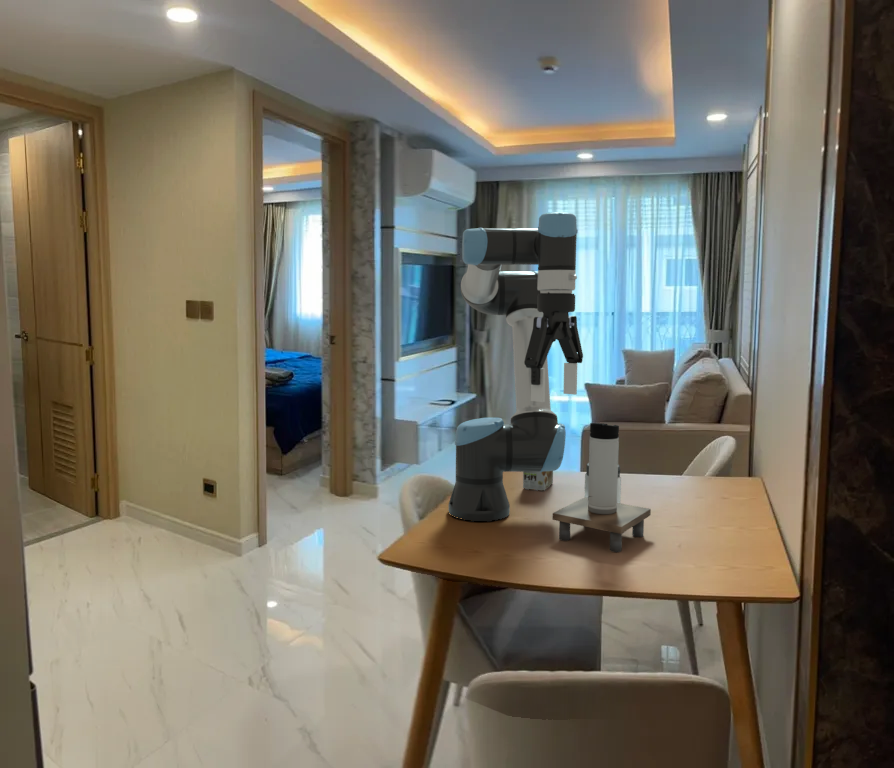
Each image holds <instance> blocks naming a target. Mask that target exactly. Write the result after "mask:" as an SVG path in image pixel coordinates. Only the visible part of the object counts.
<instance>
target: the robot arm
mask: <svg viewBox="0 0 894 768" xmlns="http://www.w3.org/2000/svg"><path fill="white" fill-rule="evenodd" d="M578 233H579V232H578V225H577V216H576V215H575V214H574V213H571V212H548V213H543V214H541V215H540V216H539V218H538V226H537V228H502V227H500V228H495V227H494V228H493V227H492V228H487V227H484V228H483V227H478V228H467V229H465V230H464V231H463V232H462V241H461V243H462V245H461V246H462V248H461V249H462V250H461V251H462V253H461V255H462V257H461V258H462V261H463V263H464V264H465V265H467V270H466V272H464V274H463V276H462V277H461V278H462V279H461V282H460V293H461V296H462V298H463V300H464V301H465V302H466V304H468V305H469V306H470V307H471V308H473V309H474V310H476V311H477V312H479V313H482V314H485V315H491V316H505V321H506V323H507V324H508V325H509V326H510V327H512V330H511V331H512V346H513V349H512V351H513V367H514V368H513V370H514V371H513V372H514V388H515V390H514V392H515V410H516V411H515V412H514V413H513V414H512V415H511V416H510V423H509V424H508V423H505V422H504V419H502V418H501V417H495V416H494V417H481V418H473V419H470V420H466V421H464V422H461V423H460V424H458V426H457V428H456V430H455V440H454V445H455V482H454V485H453V486H454V487H453V489H452V492H451V495H450V498H449V502H448V510H447V511H449V513H450V514H451V515H453V516H455V517H458V518H462V519H465V520H472V521H471V522H474V521H487V522H493V521H492V520H495V521H499V520H498V519H500V520H503V519H506V518H508V516H509V515H510V514H511V513H510V512H511V511H510V510H511V507H510V502H509V499H508V495H507V492H506V489H505V486H504V472H506V473H509V472H510V473H511V472H513V473H514V472H515V473H517V472H521V473H523V472H543V471H553V472H555V471H557V470H558V469H559V468H560V467H561V465H562V463H563V459H564V455H565V454H564V453H565V448H566V426H565V424H563V423H561V422H559V421H558V416H557V414H556V413H555V412H554V411H553V410H551V396H550V393H551V392H550V380H549V379H550V378H549V364H548V355H549V353H550V350H551V348H552V345H553V343H554V342H556V340H557V341H558V345H559V346H560V348H561V350H562V354H563V357H564V359H565V361H566V362H564V363H563V395H577V394H578V364H582V363H583V358H584V352H583V348H582V343H581V339H580V334H579V329H578V317H577V315H569V314H570V313H573V312H575V310H576V295H575V293H573V291H575V290H576V280H577V278H578V276H577V275H576V269H577V268H576V267H577V266H576V265H577V239H578V238H577V234H578ZM502 265H518V266H519V265H524V266H525V265H533V266H534V265H536V266H537V271H536V270H530V271H529V270H528V271H526V270H524V271H522V270H521V271H513V270H512V271H511V270H510V271H509V270H508V271H506V270H504V271H501V269H502ZM449 513H448V514H449ZM509 513H510V514H509ZM505 517H506V518H505ZM502 518H503V519H502ZM465 520H464V521H465Z"/></svg>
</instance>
